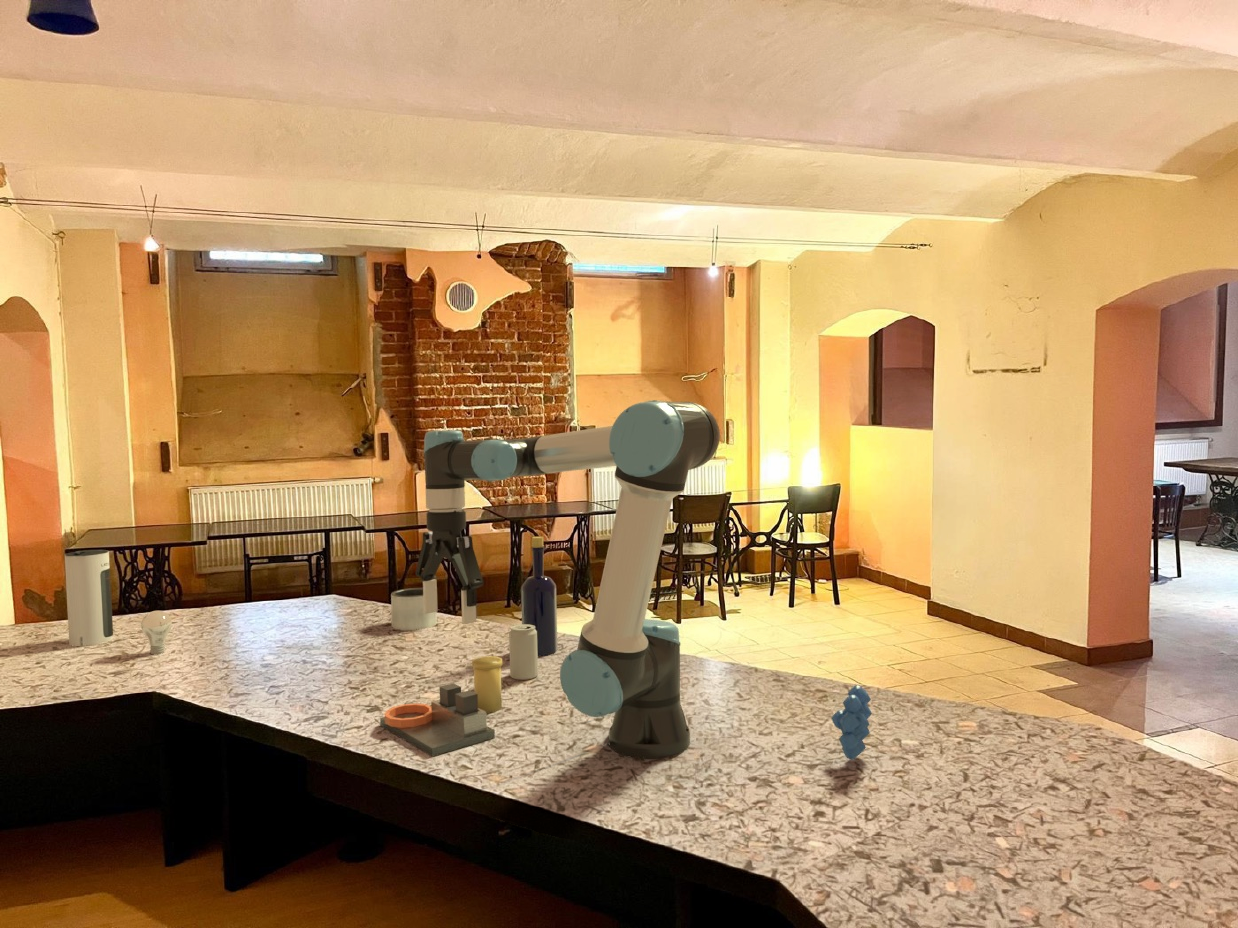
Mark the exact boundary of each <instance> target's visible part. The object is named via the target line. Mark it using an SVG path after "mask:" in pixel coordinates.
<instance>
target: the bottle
mask: <svg viewBox="0 0 1238 928" xmlns="http://www.w3.org/2000/svg"><path fill="white" fill-rule="evenodd" d="M531 544H532V545H531V547H530V548H531V550H530V551H531V552H532V575H533V576H529V577H527V578H526V579H525V581H524V582H523V583H522V585H521V587H520V593H521V600H520V601H521V602H520V603H521V624H529V625H534V626H535V630H536V631H537V653H538V657H546V656H550V655H554V654H556V652H558V614H557V613H558V612H557V610H558V609H557V606H558V605H557V585H556V583H555V582H554V580H553V579H552V578H551V577H550V576H546V575H544V562H545V561H544V554H545V553H544V551H545V546H544V536H533V537H531Z"/></svg>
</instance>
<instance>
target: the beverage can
mask: <svg viewBox="0 0 1238 928" xmlns="http://www.w3.org/2000/svg"><path fill="white" fill-rule="evenodd" d="M508 636H509V638H508V642H509V643H508V644H509V676H510V678H512V679H514V680H516V681H527V680H531V679H534V678H536V677H538V675H539V666H538V665H539V659H538V658H539V656H538V653H537V631H536V630H535V626H534V625H529V624H522V623H521V624H515V625H512V626H510V631H508Z"/></svg>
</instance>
